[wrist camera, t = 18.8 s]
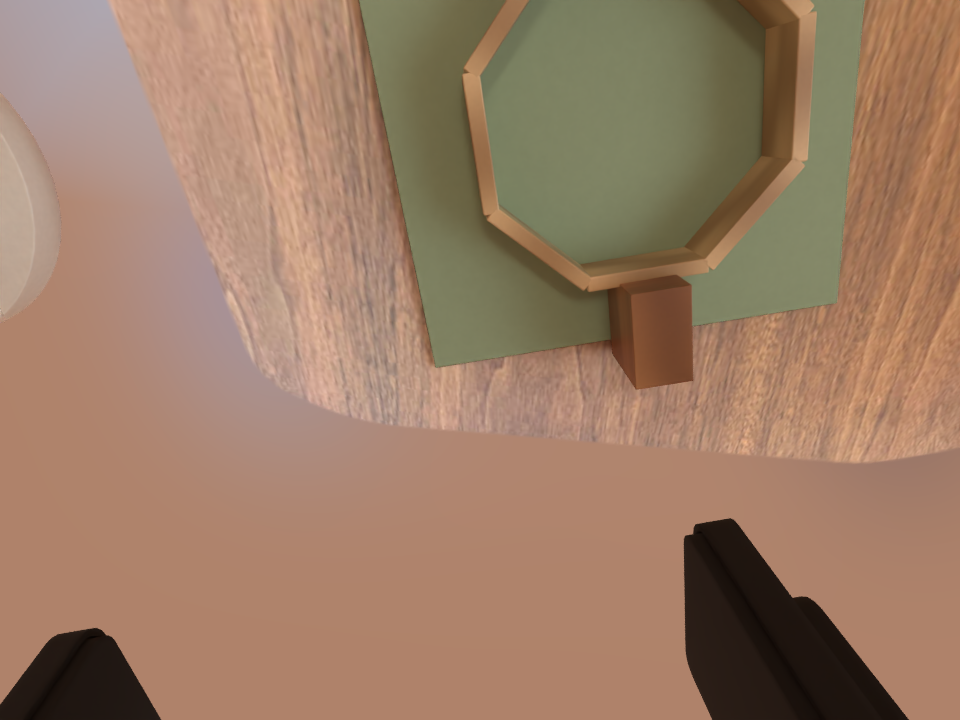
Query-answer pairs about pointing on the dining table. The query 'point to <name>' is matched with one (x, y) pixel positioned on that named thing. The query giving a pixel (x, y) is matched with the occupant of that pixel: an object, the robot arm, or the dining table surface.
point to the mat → (603, 158)
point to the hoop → (657, 275)
